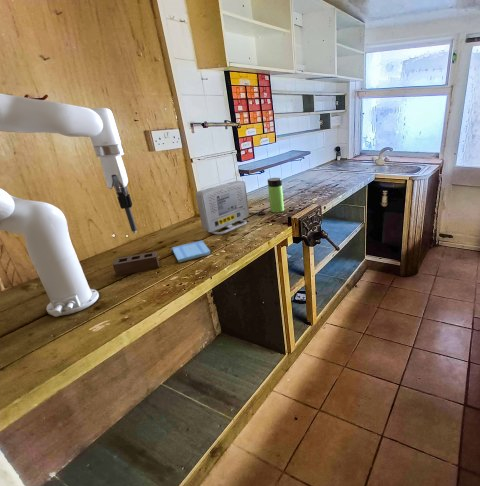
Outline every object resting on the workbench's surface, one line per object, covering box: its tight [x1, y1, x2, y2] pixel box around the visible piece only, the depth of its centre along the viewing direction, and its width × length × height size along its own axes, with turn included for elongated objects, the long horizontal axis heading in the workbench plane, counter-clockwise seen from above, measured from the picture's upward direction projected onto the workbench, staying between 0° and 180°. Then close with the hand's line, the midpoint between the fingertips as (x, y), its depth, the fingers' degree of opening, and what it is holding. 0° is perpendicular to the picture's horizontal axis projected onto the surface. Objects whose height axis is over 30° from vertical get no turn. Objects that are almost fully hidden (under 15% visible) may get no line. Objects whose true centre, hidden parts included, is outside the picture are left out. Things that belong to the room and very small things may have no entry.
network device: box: [195, 179, 250, 235], centre depth 146 cm, size 26×9×20 cm, turn 148°
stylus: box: [124, 208, 138, 234], centre depth 106 cm, size 2×2×15 cm
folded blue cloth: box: [171, 240, 211, 263], centre depth 124 cm, size 14×12×1 cm
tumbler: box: [267, 177, 285, 214], centre depth 167 cm, size 8×8×17 cm
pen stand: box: [112, 250, 160, 277], centre depth 112 cm, size 5×13×4 cm, turn 114°
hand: (126, 206), depth 105 cm, fingers closed on stylus, 1 cm apart
